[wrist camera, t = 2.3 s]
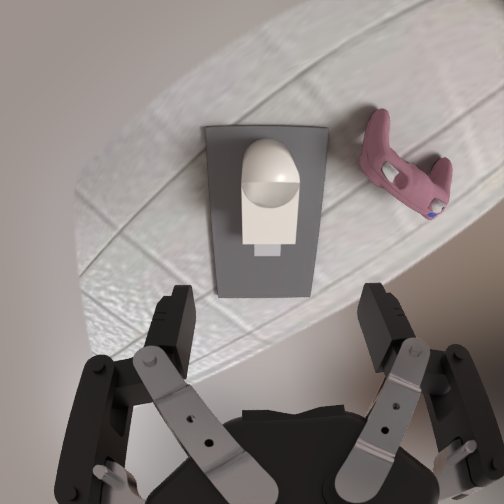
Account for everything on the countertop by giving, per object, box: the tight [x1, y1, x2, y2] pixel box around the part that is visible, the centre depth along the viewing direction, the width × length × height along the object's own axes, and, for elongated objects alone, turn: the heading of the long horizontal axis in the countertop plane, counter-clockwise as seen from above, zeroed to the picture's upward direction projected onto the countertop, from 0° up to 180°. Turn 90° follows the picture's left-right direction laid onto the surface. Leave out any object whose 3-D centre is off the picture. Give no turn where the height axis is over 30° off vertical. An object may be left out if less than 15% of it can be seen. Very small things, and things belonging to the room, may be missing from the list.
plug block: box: [241, 138, 300, 256], centre depth 24 cm, size 9×4×5 cm, turn 0°
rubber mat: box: [205, 125, 329, 298], centre depth 28 cm, size 18×10×1 cm, turn 0°
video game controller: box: [359, 109, 453, 220], centre depth 23 cm, size 10×5×7 cm, turn 65°
